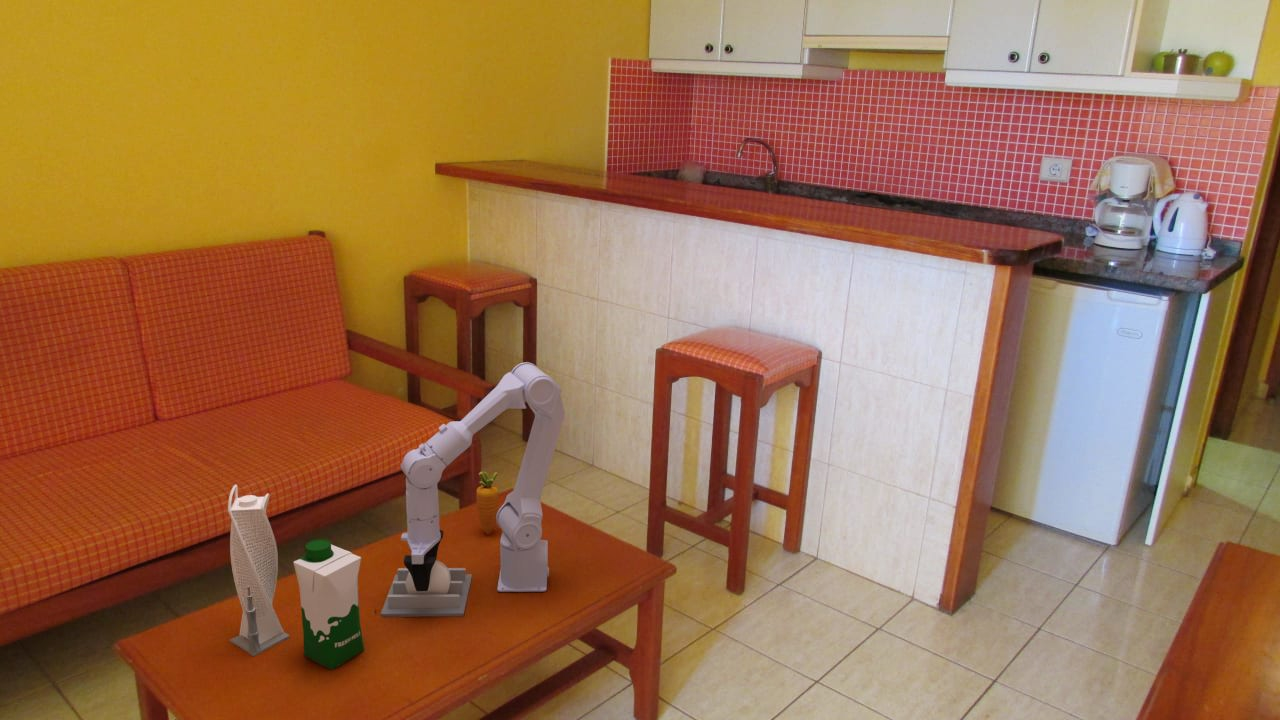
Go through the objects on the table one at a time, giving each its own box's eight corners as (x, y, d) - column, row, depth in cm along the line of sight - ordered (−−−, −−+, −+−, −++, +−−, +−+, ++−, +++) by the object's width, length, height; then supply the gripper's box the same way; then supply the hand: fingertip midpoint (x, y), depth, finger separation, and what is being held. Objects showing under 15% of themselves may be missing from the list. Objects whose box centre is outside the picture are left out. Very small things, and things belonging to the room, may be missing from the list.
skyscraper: (224, 639, 156) (208, 492, 148) (266, 618, 162) (252, 476, 154) (253, 656, 151) (238, 506, 143) (295, 634, 158) (282, 489, 150)
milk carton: (337, 632, 159) (330, 530, 153) (372, 649, 154) (366, 545, 149) (295, 656, 152) (286, 551, 146) (331, 675, 147) (323, 567, 142)
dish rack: (471, 576, 178) (471, 563, 178) (463, 616, 165) (463, 601, 164) (395, 577, 177) (394, 563, 176) (380, 616, 164) (379, 602, 163)
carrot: (502, 529, 198) (501, 467, 194) (496, 540, 193) (495, 476, 189) (480, 528, 198) (479, 465, 194) (473, 538, 194) (472, 475, 189)
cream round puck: (451, 596, 170) (450, 558, 168) (449, 603, 168) (448, 565, 166) (408, 596, 170) (407, 558, 167) (406, 603, 167) (404, 565, 165)
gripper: (407, 496, 170) (410, 560, 174) (392, 532, 156) (396, 600, 160) (445, 496, 171) (447, 559, 175) (433, 532, 157) (436, 600, 161)
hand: (425, 579), depth 168 cm, fingers open, 7 cm apart
